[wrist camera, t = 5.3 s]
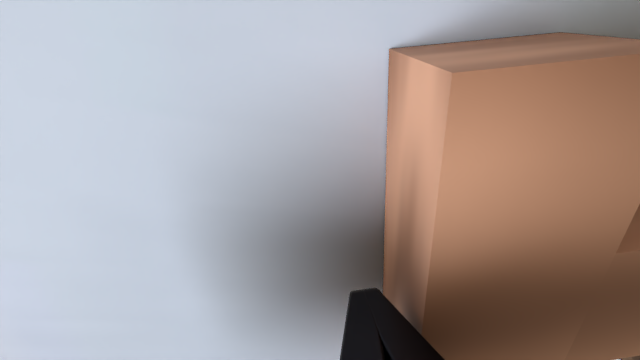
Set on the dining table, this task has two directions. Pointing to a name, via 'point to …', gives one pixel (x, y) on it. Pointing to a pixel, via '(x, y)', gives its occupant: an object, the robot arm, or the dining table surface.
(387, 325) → the robot arm
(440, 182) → the terracotta T block
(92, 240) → the dining table surface
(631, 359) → the walnut bay
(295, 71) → the dining table surface
